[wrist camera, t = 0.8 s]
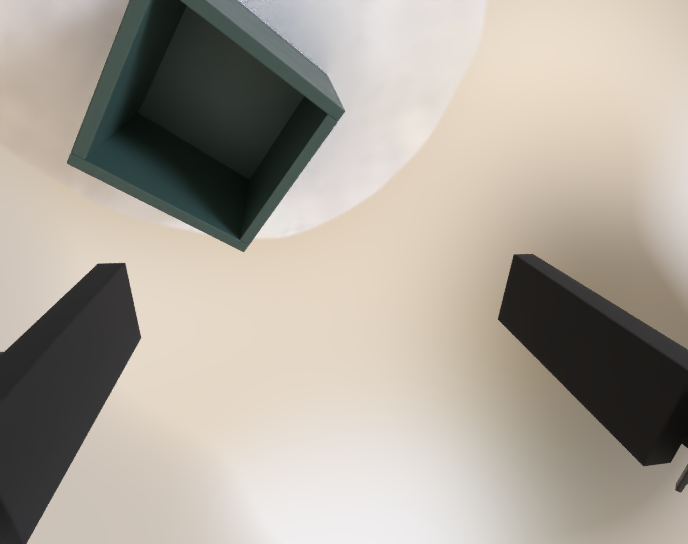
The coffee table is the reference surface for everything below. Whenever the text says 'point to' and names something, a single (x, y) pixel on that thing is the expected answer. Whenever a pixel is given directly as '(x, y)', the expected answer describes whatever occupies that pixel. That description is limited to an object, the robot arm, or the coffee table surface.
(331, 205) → the coffee table surface
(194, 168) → the bin
